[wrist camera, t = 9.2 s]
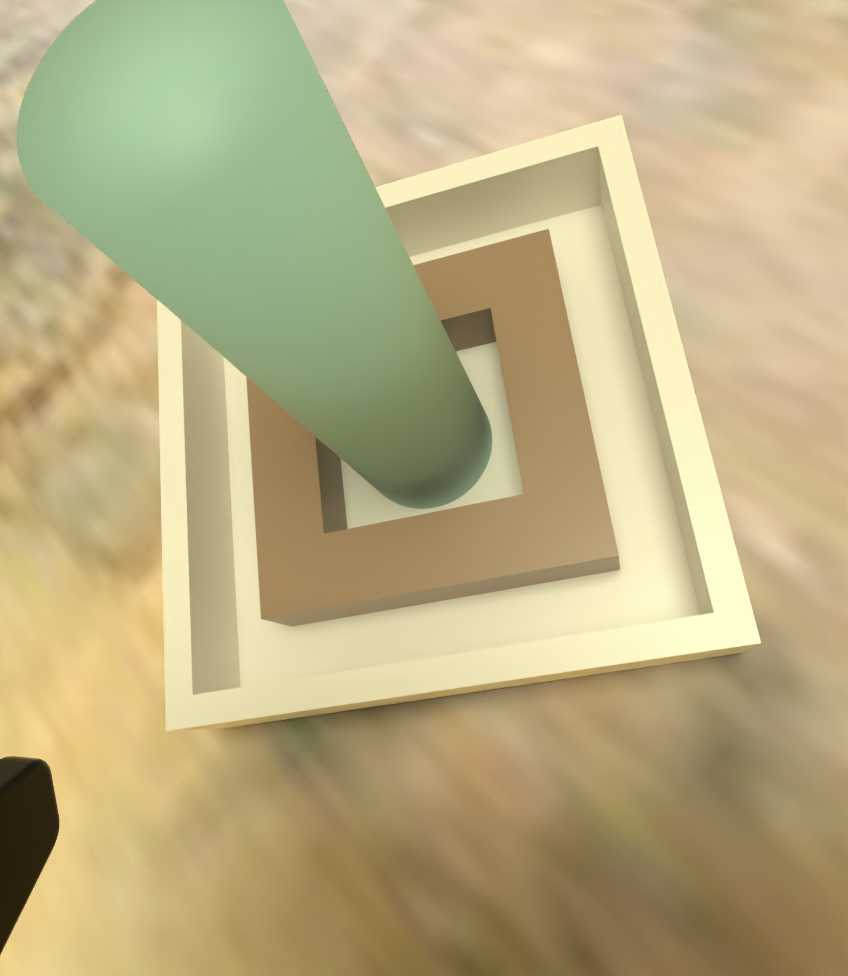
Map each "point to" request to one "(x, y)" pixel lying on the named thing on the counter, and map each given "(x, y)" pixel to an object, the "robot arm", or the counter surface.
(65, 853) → the counter surface
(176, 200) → the pale green peg
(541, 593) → the tray box
